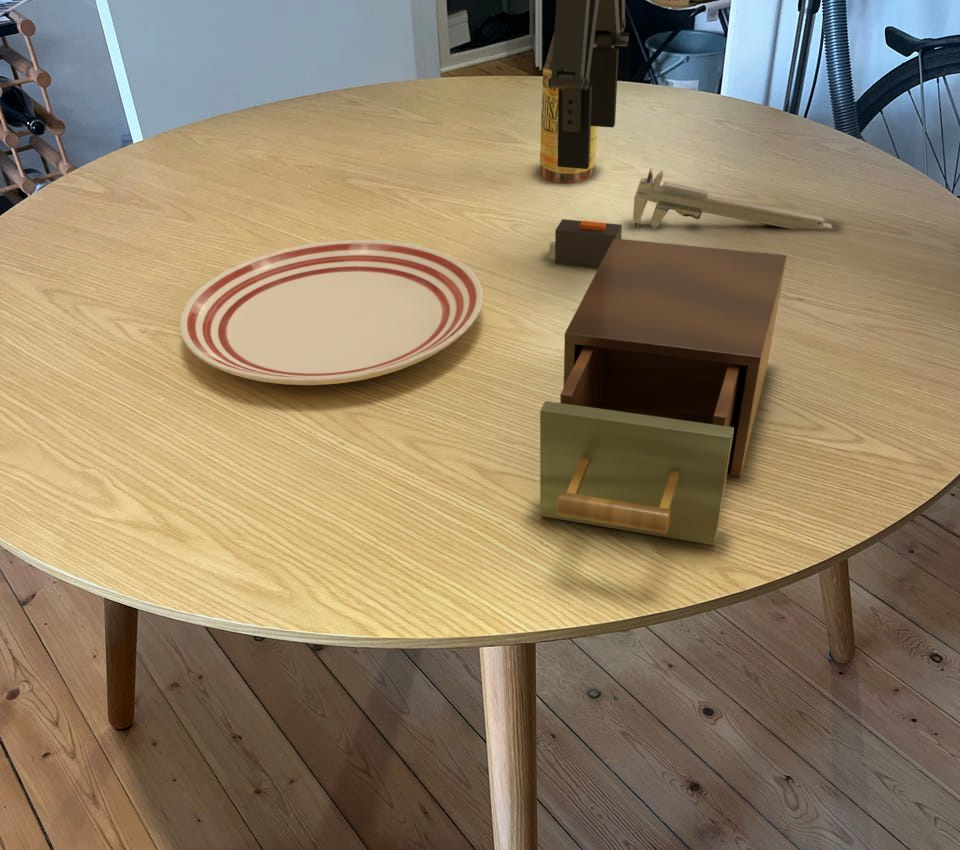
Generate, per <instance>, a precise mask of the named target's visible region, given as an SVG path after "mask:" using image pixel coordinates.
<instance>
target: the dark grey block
mask: <svg viewBox="0 0 960 850" xmlns="http://www.w3.org/2000/svg"><path fill="white" fill-rule="evenodd" d="M557 225H558V226H557V227H556V228H555V235H554V236H555V238H554V240H552V241H551V242H550V243H549V260H552V261H553V260H554V264H555V265H560V266H570V267H577V268H578V267H579V268H587V269H588V268H589V269H590V268H591V269H597V270H598V268H599V266H600V264H601V262H602V261H603V259H604V257H605V255H606V253H607V251H608V249H609V247H610V245H611V243H612V241H613V239H614V238H615V239H622V233H623V225H622V224H621V223H608V222H599V221H590V220H589V221H588V220H576V219H575V220H574V219H564V218H563V219H561V221H560V222H559V224H557Z"/></svg>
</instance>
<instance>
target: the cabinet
mask: <svg viewBox="0 0 960 850" xmlns="http://www.w3.org/2000/svg"><path fill="white" fill-rule="evenodd" d="M787 257H788V256H787V255H786V254H780V253H779V254H778V253H769V252H768V253H767V252H759V251H757V252H756V251H748V250H737V249H727V248H717V247H707V246H695V245H687V244H676V243H666V242H655V241H644V240H634V239H623V238H621V239H615V238H614V239H613V241H612V243H611V245H610V247H609V249H608V251H607V253H606V255H605V257H604V259H603V261H602V262H601V264H600V266H599V268H598V269H597V271H596V272H595V274H594V276H593V277H592V280H591V282H590V284H589V286H588V288H587V290H586V291H585V294H584V295H583V297H582V299H581V301H580V303H579V305H578V307H577V309H576V310H575V312H574V315H573V317H572V319H571V320H570V322H569V323H568V326H567V328H566V329H565V332H564V341H563V342H564V346H563V347H564V348H563V351H564V352H563V387H564V386H565V384H566V382H567V380H568V378H569V376H570V374H571V372H572V370H573V368H574V366H575V364H576V362H577V359H578V357H579V355H580V353H581V351H582V349H583V347H584V345H585V346H593V347H601V348H609V349H617V350H625V351H633V352H641V353H649V354H657V355H665V356H673V357H681V358H689V359H697V360H705V361H713V362H721V363H729V364H737V365H745V367H744V373H743V379H742V386H741V392H740V398H739V404H738V411H737V416H736V423H735V427H734V432H733V439H732V445H731V451H730V458H729V464H728V470H727V476H726V477H728V478H734V479H741V477H742V473H743V470H744V465H745V460H746V457H747V452H748V448H749V444H750V439H751V435H752V431H753V427H754V424H755V420H756V415H757V411H758V407H759V403H760V399H761V394H762V391H763V386H764V381H765V378H766V374H767V370H768V369H767V368H768V364H769V359H770V358H769V357H770V353H771V346H772V342H773V335H774V329H775V323H776V319H777V312H778V308H779V303H780V297H781V296H780V295H781V291H782V284H783V279H784V274H785V268H786V263H787Z"/></svg>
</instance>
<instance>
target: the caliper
mask: <svg viewBox="0 0 960 850" xmlns="http://www.w3.org/2000/svg"><path fill="white" fill-rule="evenodd" d="M663 177H664V170H663V169H662V170H660V171H659V172H658V173H657V174H656V175H655V178H654V172H653V168H652V167H650V168H649V171H648V174H647V178H645V177H641V178H640V181H639V184H638V186H637V189H636V192H635V194H634V199H633V213H632V228H639V226H640V224H641V220H642V217H643V215H644V211H645V208H646V206H647V203H648V202H651V203H656V204H655V206H654V210H653V213H652V216H651V219H650V228H653V229H655V228H656V229H657V228H658V227H659V225H660V224H661V222H662V221H663V219H664V218H665V216H666V215H667V213H668V212H669V210H673V211H675V212H676V213H678V214H679V215H681V216H683V217H691V218H693V219H695V220H700V218H701V216H702V213H706V214H711V215H716V216H720V217H726V218H730V219H731V218H732V219H737V220H742V221H747V222H752V223H758V224H761V225H768V226H772V227H776V228H783V229H785V230H833V226H832V223H828V222H825V220H824V216H818V215H813V214H809V213H803V212H799V211H793V210H788V209H784V208H778V207H773V206H768V205H763V204H758V203H753V202H747V201H743V200H737V199H731V198H726V197H722V196H717V195H711V194H708V190H707V189H703V188H700V187H699V188H698V187H694V186H690V185H689V186H688V185H684V184H679V183H675V182H671V181H664V182H663V184H662V185H661V182H662V180H663Z"/></svg>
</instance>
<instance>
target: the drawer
mask: <svg viewBox="0 0 960 850" xmlns="http://www.w3.org/2000/svg"><path fill="white" fill-rule="evenodd" d="M744 367H745V365H737V364H729V363H721V362H713V361H705V360H697V359H689V358H681V357H673V356H665V355H657V354H649V353H641V352H633V351H625V350H617V349H609V348H601V347H593V346H585V345H584V347H583V349H582V351H581V353H580V355H579V357H578V359H577V362H576V364H575V366H574V368H573V370H572V372H571V374H570V376H569V378H568V380H567V382H566V384H565V386H564V385H563V389H562V390H561V392H560V396H559V398H560V399H559V401H560V402H555V401H548V400H545V401H544V402H543V404H542V406H541V408H540V410H539V431H540V432H539V447H540V448H539V490H540V492H539V503H540V504H539V514H540V517H544V518H551V519H555V520H556V519H557V520H563V521H569V522H574V523H579V524H586V525H592V526H598V527H604V528H611V529H617V530H622V531H627V532H632V533H633V532H634V533H639V534H646V535H651V536H657V537H662V538H663V537H664V538H669V539H676V540H681V541H687V542H693V543H697V544H698V543H699V544H704V545H710V546H715V545H716V541H717V537H718V533H719V526H720V519H721V513H722V507H723V501H724V494H725V489H726V482H727V477H728V476H727V470H728V464H729V458H730V451H731V445H732V439H733V432H734V427H735V423H736V416H737V411H738V404H739V398H740V392H741V386H742V379H743V373H744Z"/></svg>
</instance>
